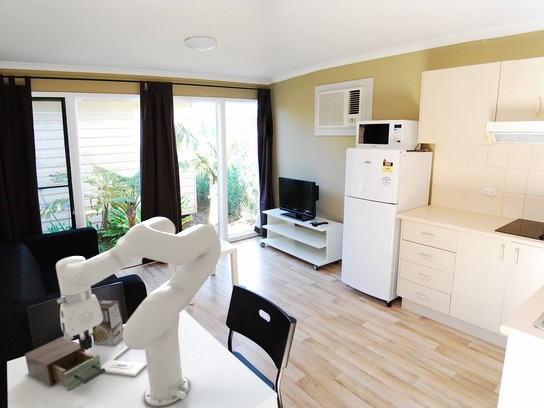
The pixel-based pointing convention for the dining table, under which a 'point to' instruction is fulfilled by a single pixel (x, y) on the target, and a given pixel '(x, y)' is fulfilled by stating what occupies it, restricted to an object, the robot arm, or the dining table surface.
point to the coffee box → (109, 324)
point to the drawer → (76, 369)
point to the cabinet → (49, 358)
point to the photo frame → (123, 365)
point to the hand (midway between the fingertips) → (86, 347)
